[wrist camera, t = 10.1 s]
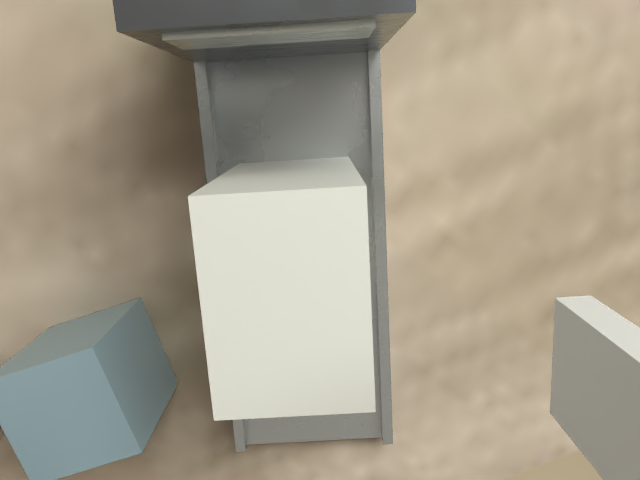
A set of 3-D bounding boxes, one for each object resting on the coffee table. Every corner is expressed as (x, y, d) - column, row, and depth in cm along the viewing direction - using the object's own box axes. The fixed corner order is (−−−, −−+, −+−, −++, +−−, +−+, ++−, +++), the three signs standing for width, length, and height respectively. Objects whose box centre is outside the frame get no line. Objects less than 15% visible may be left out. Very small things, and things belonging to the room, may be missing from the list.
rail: (239, 436, 29) (196, 609, 19) (193, -7, 24) (99, -94, 14) (389, 428, 29) (426, 598, 19) (374, -19, 24) (413, -114, 14)
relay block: (91, 410, 29) (32, 486, 23) (50, 327, 28) (-22, 384, 22) (178, 382, 28) (141, 453, 23) (141, 297, 27) (92, 347, 21)
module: (251, 307, 26) (212, 420, 17) (238, 163, 25) (186, 196, 15) (356, 301, 26) (377, 412, 17) (349, 156, 25) (368, 185, 15)
